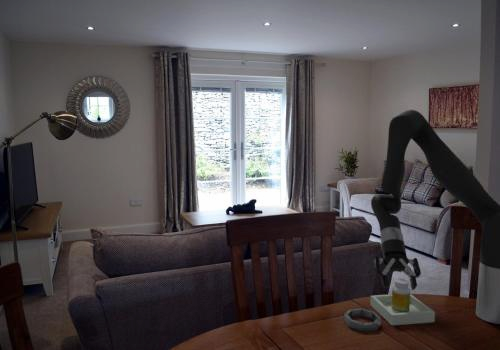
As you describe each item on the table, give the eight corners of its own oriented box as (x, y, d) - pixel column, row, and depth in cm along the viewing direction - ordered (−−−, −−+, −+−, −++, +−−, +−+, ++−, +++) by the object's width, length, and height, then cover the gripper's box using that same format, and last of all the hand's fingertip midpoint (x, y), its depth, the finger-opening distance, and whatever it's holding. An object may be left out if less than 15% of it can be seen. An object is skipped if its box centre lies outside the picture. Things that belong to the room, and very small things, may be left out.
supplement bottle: (408, 315, 124) (410, 285, 123) (390, 311, 126) (391, 282, 125) (410, 308, 128) (411, 279, 127) (392, 305, 131) (394, 276, 130)
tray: (408, 302, 135) (409, 293, 135) (434, 322, 121) (435, 312, 121) (370, 304, 133) (370, 295, 132) (391, 325, 119) (392, 315, 119)
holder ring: (370, 313, 126) (370, 307, 126) (385, 329, 117) (386, 323, 116) (340, 315, 125) (340, 309, 125) (353, 332, 115) (353, 325, 115)
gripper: (373, 237, 136) (379, 282, 126) (416, 238, 135) (426, 284, 125) (369, 247, 142) (375, 291, 132) (411, 249, 140) (419, 293, 131)
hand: (400, 288), depth 128 cm, fingers open, 8 cm apart
